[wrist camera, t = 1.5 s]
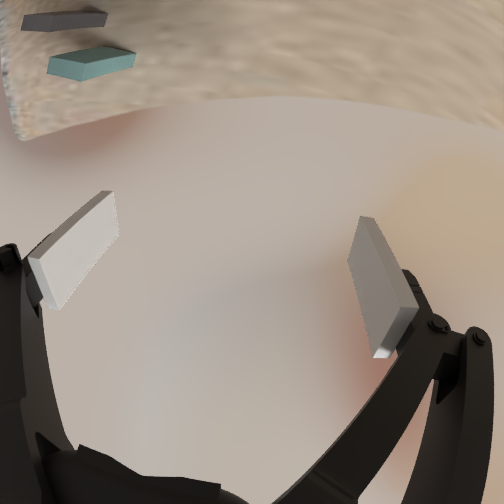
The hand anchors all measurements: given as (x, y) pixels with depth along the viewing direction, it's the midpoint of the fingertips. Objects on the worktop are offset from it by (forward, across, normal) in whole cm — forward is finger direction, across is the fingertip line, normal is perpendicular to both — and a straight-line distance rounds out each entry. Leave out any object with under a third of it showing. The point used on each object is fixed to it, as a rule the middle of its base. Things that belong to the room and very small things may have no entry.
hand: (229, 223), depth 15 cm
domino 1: (+20, -22, +17) cm, 34 cm away
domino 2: (+20, -18, +11) cm, 29 cm away
